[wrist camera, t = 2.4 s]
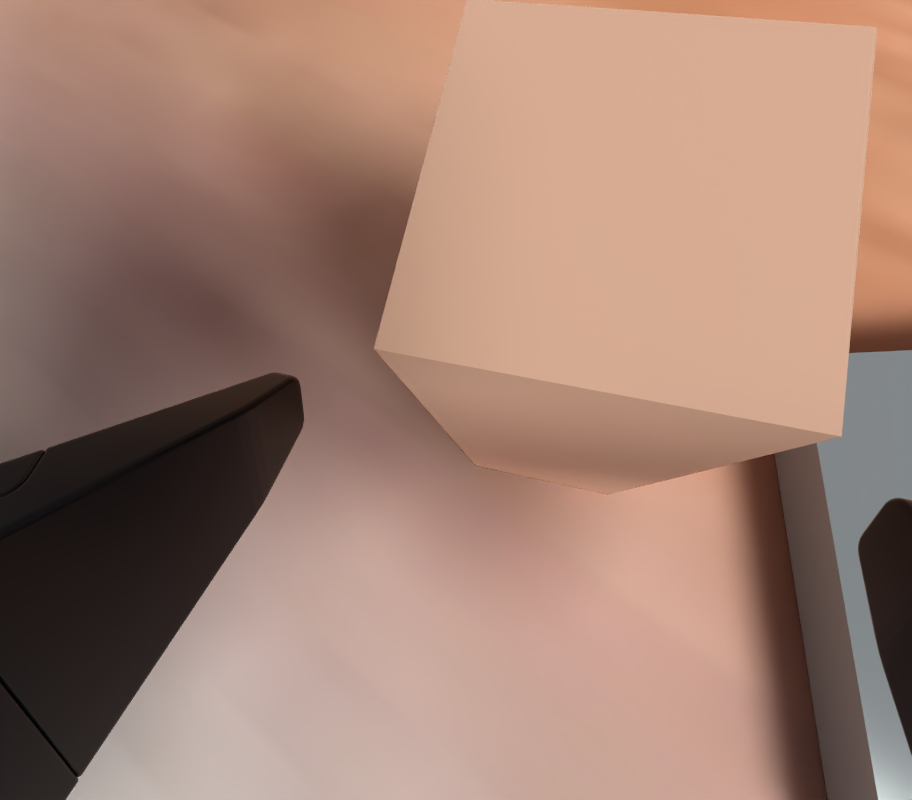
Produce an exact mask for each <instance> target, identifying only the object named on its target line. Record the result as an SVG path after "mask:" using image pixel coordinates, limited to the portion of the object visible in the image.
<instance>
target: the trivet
mask: <svg viewBox="0 0 912 800" xmlns="http://www.w3.org/2000/svg"><path fill="white" fill-rule="evenodd" d="M774 454H775V461H776V467H777V474H778V480H779V487H780V493H781V500H782V506H783V513H784V519H785V526H786V532H787V539H788V545H789V552H790V558H791V565H792V571H793V578H794V584H795V591H796V597H797V604H798V610H799V617H800V623H801V630H802V636H803V643H804V649H805V656H806V662H807V669H808V675H809V682H810V688H811V695H812V701H813V708H814V714H815V721H816V727H817V734H818V740H819V747H820V753H821V760H822V766H823V773H824V779H825V786H826V792H827V799H828V800H912V756H911V752H910V749H909V746H908V743H907V740H906V737H905V734H904V731H903V728H902V725H901V722H900V719H899V715H898V712H897V709H896V706H895V703H894V700H893V697H892V694H891V691H890V688H889V685H888V682H887V678H886V675H885V672H884V669H883V666H882V662H881V659H880V655H879V652H878V647H877V643H876V639H875V635H874V630H873V625H872V620H871V615H870V610H869V605H868V600H867V595H866V590H865V585H864V580H863V575H862V570H861V565H860V560H859V555H858V544H859V540H860V537H861V536H862V534H863V533H864V531H865V530H866V528H867V527H868V526H869V524H870V523H871V522H872V520H873V519H874V518H875V516H876V515H877V514H878V512H879V511H880V510H881V508H882V507H883V506H884V504H885V503H886V502H887V501H889V500H891V499H893V498H903V499H908V500H912V350H902V351H882V352H862V353H849V358H848V369H847V381H846V392H845V404H844V416H843V427H842V437H838V438H834V439H830V440H826V441H822V442H818V443H814V444H810V445H806V446H802V447H798V448H794V449H790V450H786V451H782V452H778V453H774Z"/></svg>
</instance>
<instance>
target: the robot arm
mask: <svg viewBox="0 0 912 800" xmlns="http://www.w3.org/2000/svg"><path fill="white" fill-rule="evenodd" d="M303 422H304V413H303V404H302V396H301V387H300V383H299V380H298V379H297V378H296V377H294V376H290V375H285V374H281V373H270V374H267V375H264V376H261V377H258V378H255V379H252V380H249V381H246V382H243V383H240V384H237V385H234V386H231V387H228V388H225V389H222V390H219V391H216V392H213V393H210V394H207V395H204V396H201V397H198V398H195V399H192V400H189V401H186V402H183V403H181V404H178V405H175V406H172V407H169V408H166V409H163V410H160V411H157V412H154V413H151V414H148V415H145V416H142V417H139V418H136V419H133V420H130V421H127V422H124V423H121V424H118V425H115V426H112V427H109V428H106V429H103V430H100V431H97V432H94V433H91V434H88V435H85V436H82V437H79V438H76V439H73V440H70V441H67V442H64V443H61V444H58V445H55V446H52V447H49V448H48V449H47V450H46V451H43V450H40V451H37V452H34V453H31V454H28V455H25V456H22V457H19V458H16V459H13V460H10V461H7V462H4V463H1V464H0V800H66V798H67V797H68V795H69V794H70V792H71V791H72V789H73V788H74V786H75V785H76V783H77V782H78V777H79V776H81V775H82V774H83V772H84V771H85V769H86V768H87V766H88V765H89V763H90V762H91V760H92V759H93V757H94V756H95V754H96V753H97V751H98V750H99V748H100V747H101V745H102V744H103V742H104V741H105V739H106V738H107V736H108V735H109V733H110V732H111V730H112V729H113V727H114V726H115V724H116V723H117V721H118V720H119V718H120V717H121V715H122V714H123V712H124V711H125V709H126V708H127V706H128V705H129V703H130V702H131V700H132V699H133V697H134V696H135V694H136V693H137V691H138V690H139V688H140V687H141V685H142V684H143V682H144V681H145V679H146V678H147V676H148V675H149V673H150V672H151V670H152V669H153V667H154V666H155V665H156V663H157V662H158V660H159V659H160V657H161V656H162V654H163V653H164V651H165V650H166V648H167V647H168V645H169V644H170V642H171V641H172V639H173V638H174V636H175V635H176V633H177V632H178V630H179V629H180V627H181V626H182V624H183V623H184V621H185V620H186V618H187V617H188V615H189V614H190V612H191V611H192V609H193V608H194V606H195V605H196V603H197V602H198V600H199V599H200V597H201V596H202V594H203V593H204V591H205V590H206V588H207V587H208V585H209V584H210V582H211V581H212V579H213V578H214V576H215V575H216V573H217V572H218V570H219V569H220V567H221V566H222V564H223V563H224V561H225V560H226V558H227V557H228V555H229V554H230V552H231V551H232V549H233V548H234V546H235V545H236V543H237V542H238V540H239V539H240V537H241V536H242V534H243V533H244V531H245V530H246V528H247V527H248V525H249V524H250V522H251V521H252V519H253V518H254V516H255V515H256V513H257V512H258V510H259V509H260V507H261V506H262V504H263V502H264V501H265V499H266V497H267V495H268V494H269V492H270V490H271V488H272V486H273V484H274V482H275V480H276V478H277V476H278V474H279V473H280V471H281V469H282V467H283V465H284V463H285V461H286V459H287V457H288V455H289V453H290V451H291V449H292V447H293V445H294V443H295V442H296V440H297V438H298V436H299V434H300V432H301V430H302V427H303ZM858 555H859V560H860V565H861V570H862V575H863V580H864V585H865V590H866V595H867V600H868V605H869V610H870V615H871V620H872V625H873V630H874V635H875V639H876V643H877V647H878V652H879V655H880V659H881V662H882V666H883V669H884V672H885V675H886V678H887V682H888V685H889V688H890V691H891V694H892V697H893V700H894V703H895V706H896V709H897V712H898V715H899V719H900V722H901V725H902V728H903V731H904V734H905V737H906V740H907V743H908V746H909V749H910V752H911V756H912V500H908V499H903V498H893V499H891V500H889V501H887V502H886V503H885V504H884V506H883V507H882V508H881V510H880V511H879V512H878V514H877V515H876V516H875V518H874V519H873V520H872V522H871V523H870V524H869V526H868V527H867V528H866V530H865V531H864V533H863V534H862V536H861V537H860V540H859V544H858Z"/></svg>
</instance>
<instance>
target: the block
mask: <svg viewBox="0 0 912 800" xmlns="http://www.w3.org/2000/svg"><path fill="white" fill-rule="evenodd" d="M876 35H877V27H869V26H854V25H840V24H826V23H811V22H797V21H783V20H768V19H754V18H740V17H725V16H711V15H697V14H682V13H668V12H654V11H639V10H625V9H611V8H596V7H582V6H568V5H553V4H539V3H525V2H510V1H496V0H467V1H466V5H465V9H464V13H463V16H462V20H461V24H460V28H459V31H458V35H457V39H456V43H455V46H454V50H453V54H452V58H451V61H450V65H449V69H448V72H447V76H446V80H445V84H444V87H443V91H442V95H441V99H440V102H439V106H438V110H437V114H436V117H435V121H434V125H433V129H432V132H431V136H430V140H429V144H428V147H427V151H426V155H425V159H424V162H423V166H422V170H421V173H420V177H419V181H418V185H417V188H416V192H415V196H414V200H413V203H412V207H411V211H410V215H409V218H408V222H407V226H406V230H405V233H404V237H403V241H402V245H401V248H400V252H399V256H398V260H397V263H396V267H395V271H394V275H393V278H392V282H391V286H390V289H389V293H388V297H387V301H386V304H385V308H384V312H383V316H382V319H381V323H380V327H379V331H378V334H377V338H376V342H375V346H374V350H375V351H376V352H377V353H378V354H379V356H380V357H381V358H382V359H383V360H384V361H385V362H386V364H387V365H388V366H389V367H390V368H391V369H392V370H393V372H394V373H395V374H396V375H397V376H398V377H399V378H400V380H401V381H402V382H403V383H404V384H405V385H406V386H407V388H408V389H409V390H410V391H411V392H412V393H413V394H414V396H415V397H416V398H417V399H418V400H419V401H420V402H421V403H422V405H423V406H424V407H425V408H426V409H427V410H428V411H429V413H430V414H431V415H432V416H433V417H434V418H435V419H436V421H437V422H438V423H439V424H440V425H441V426H442V427H443V429H444V430H445V431H446V432H447V433H448V434H449V435H450V437H451V438H452V439H453V440H454V441H455V442H456V443H457V445H458V446H459V447H460V448H461V449H462V450H463V451H464V453H465V454H466V455H467V456H468V457H469V458H470V459H471V461H472V462H473V463H474V464H475V465H476V466H480V467H484V468H489V469H494V470H498V471H503V472H507V473H512V474H516V475H521V476H526V477H530V478H535V479H539V480H544V481H548V482H553V483H558V484H562V485H567V486H571V487H576V488H580V489H585V490H590V491H594V492H599V493H603V494H612V493H616V492H620V491H624V490H628V489H632V488H636V487H640V486H645V485H649V484H653V483H657V482H661V481H665V480H669V479H673V478H677V477H681V476H685V475H689V474H693V473H697V472H701V471H705V470H709V469H713V468H717V467H721V466H725V465H729V464H733V463H737V462H741V461H745V460H749V459H753V458H757V457H762V456H766V455H770V454H774V453H778V452H782V451H786V450H790V449H794V448H798V447H802V446H806V445H810V444H814V443H818V442H822V441H826V440H830V439H834V438H838V437H842V427H843V416H844V404H845V392H846V381H847V369H848V358H849V346H850V335H851V323H852V312H853V300H854V289H855V277H856V266H857V254H858V243H859V231H860V220H861V208H862V197H863V185H864V174H865V162H866V151H867V139H868V128H869V116H870V105H871V93H872V82H873V70H874V58H875V47H876Z"/></svg>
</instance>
